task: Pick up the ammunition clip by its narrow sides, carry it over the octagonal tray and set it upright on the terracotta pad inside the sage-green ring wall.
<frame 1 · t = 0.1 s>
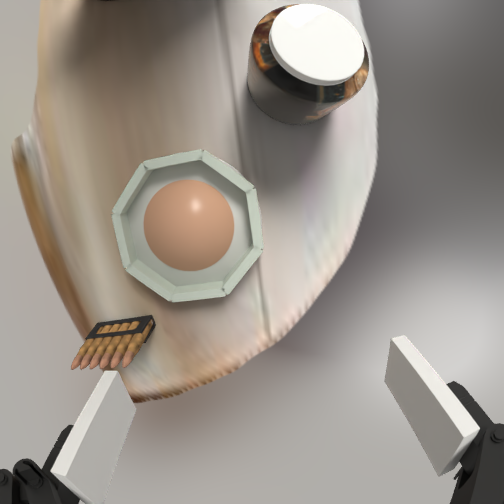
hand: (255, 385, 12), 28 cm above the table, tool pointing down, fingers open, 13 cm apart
ammunition clip: (125, 323, 43), on the table
jar: (291, 84, 34), on the table
octagonal tray: (189, 224, 38), on the table
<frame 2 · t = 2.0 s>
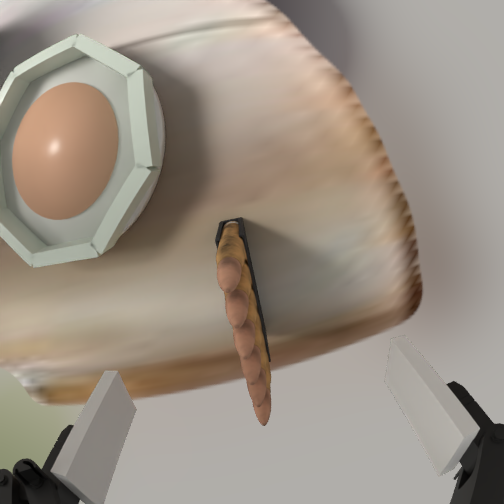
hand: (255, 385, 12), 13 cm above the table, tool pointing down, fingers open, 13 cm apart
ammunition clip: (244, 279, 25), on the table
octagonal tray: (67, 150, 21), on the table
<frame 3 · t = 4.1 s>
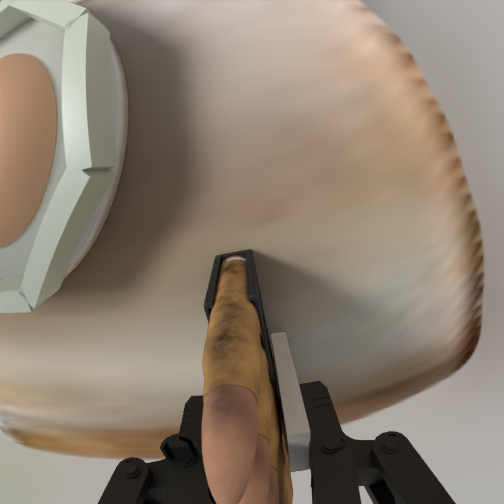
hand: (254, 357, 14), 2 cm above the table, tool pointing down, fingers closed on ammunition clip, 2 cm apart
ammunition clip: (253, 339, 16), on the table, touching gripper
octagonal tray: (4, 149, 12), on the table
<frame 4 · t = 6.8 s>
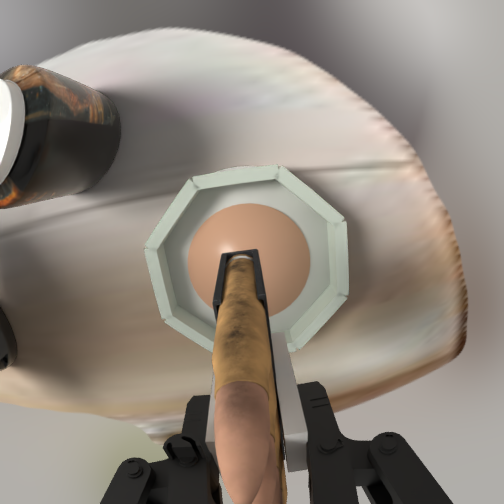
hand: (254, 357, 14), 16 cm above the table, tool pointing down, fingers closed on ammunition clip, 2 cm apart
ammunition clip: (252, 339, 16), point 14 cm above the table, touching gripper
jar: (77, 141, 26), on the table
octagonal tray: (248, 260, 30), on the table
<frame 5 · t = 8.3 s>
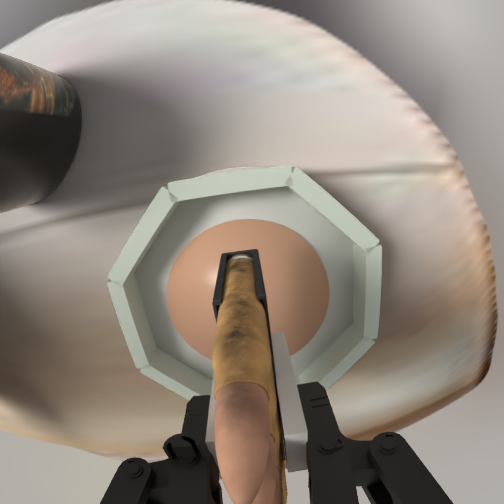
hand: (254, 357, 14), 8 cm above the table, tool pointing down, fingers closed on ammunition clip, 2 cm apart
ammunition clip: (252, 339, 16), point 7 cm above the table, touching gripper
jar: (32, 139, 18), on the table
octagonal tray: (247, 292, 23), on the table
when the fingers open (4 cm above the table, at t = 9.6 s): ammunition clip stays where it is, resting on octagonal tray.
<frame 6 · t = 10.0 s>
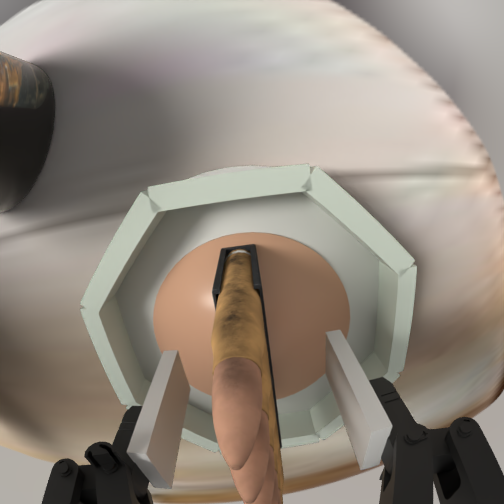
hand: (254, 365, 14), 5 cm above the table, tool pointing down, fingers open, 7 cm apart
ammunition clip: (251, 330, 17), point 2 cm above the table, touching octagonal tray
jar: (4, 137, 15), on the table
octagonal tray: (251, 318, 19), on the table
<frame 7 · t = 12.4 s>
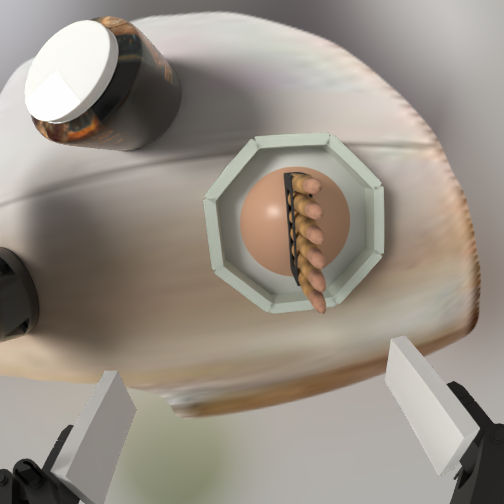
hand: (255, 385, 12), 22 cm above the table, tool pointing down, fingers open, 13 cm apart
ammunition clip: (295, 222, 31), point 2 cm above the table, touching octagonal tray
jar: (134, 103, 29), on the table
octagonal tray: (294, 220, 32), on the table
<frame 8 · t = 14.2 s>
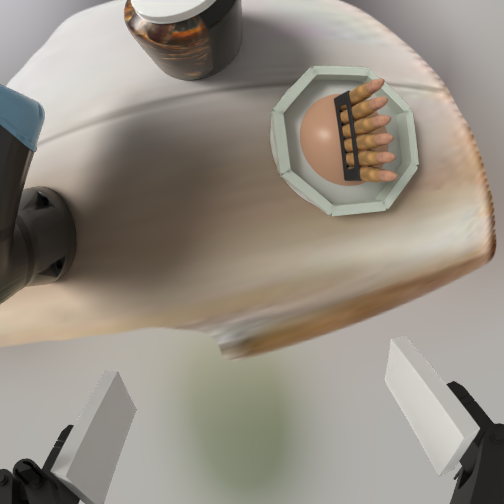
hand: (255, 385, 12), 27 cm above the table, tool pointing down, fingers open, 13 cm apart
ammunition clip: (345, 138, 33), point 2 cm above the table, touching octagonal tray
jar: (197, 43, 31), on the table
octagonal tray: (342, 140, 35), on the table
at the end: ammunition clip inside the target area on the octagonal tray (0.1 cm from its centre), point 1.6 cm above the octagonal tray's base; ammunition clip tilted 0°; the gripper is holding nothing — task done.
